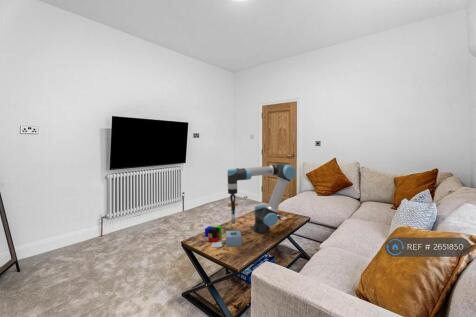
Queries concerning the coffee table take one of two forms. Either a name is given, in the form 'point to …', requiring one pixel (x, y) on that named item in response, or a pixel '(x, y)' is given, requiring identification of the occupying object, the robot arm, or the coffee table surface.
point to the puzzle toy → (213, 233)
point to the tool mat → (216, 244)
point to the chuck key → (231, 212)
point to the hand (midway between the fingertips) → (233, 217)
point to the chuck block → (233, 238)
